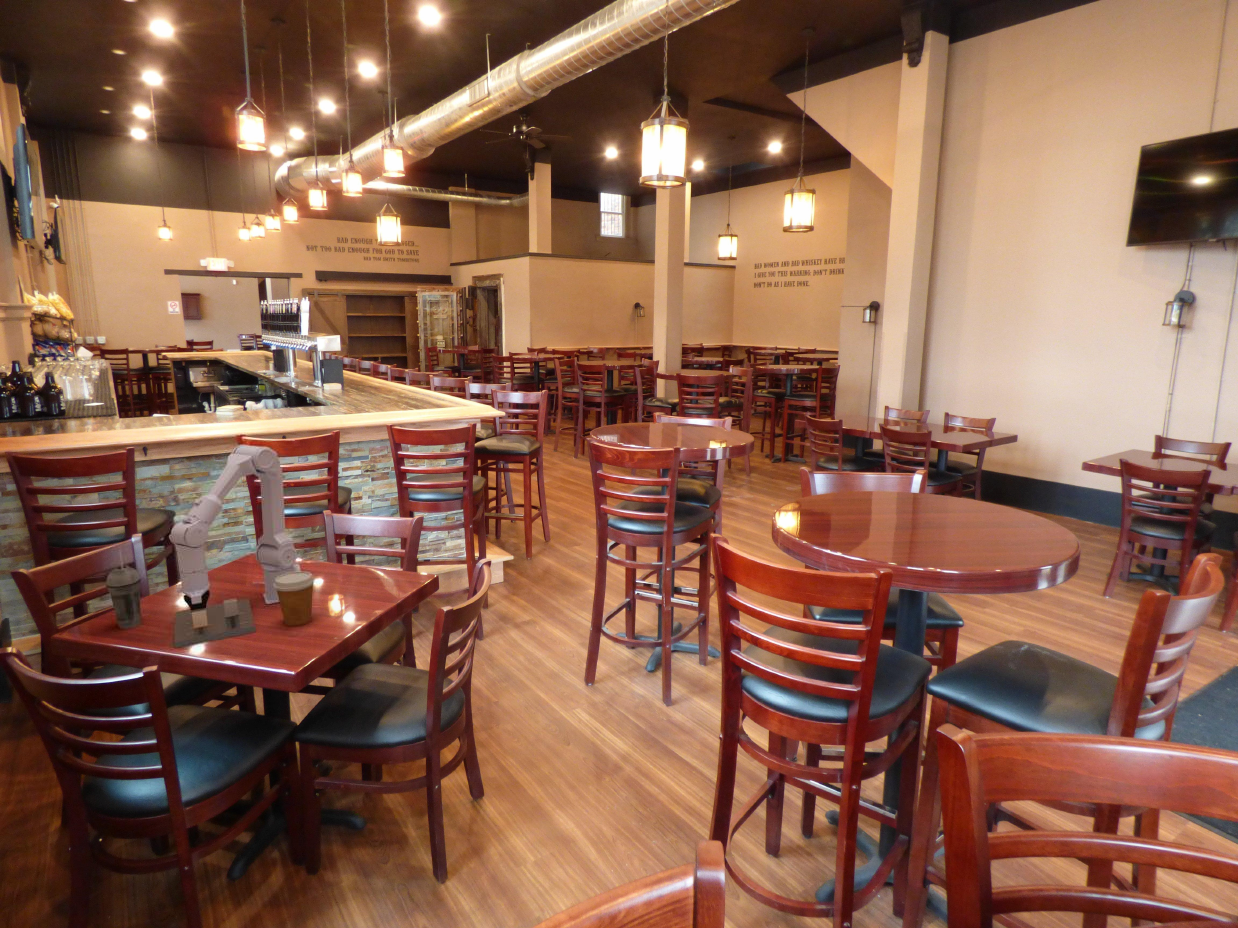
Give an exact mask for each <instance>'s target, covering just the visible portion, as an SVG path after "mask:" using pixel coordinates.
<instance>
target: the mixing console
mask: <svg viewBox="0 0 1238 928" xmlns="http://www.w3.org/2000/svg"><path fill="white" fill-rule="evenodd" d="M237 606H238V614H239V615H236V616H231V617H226V618H225V611H224V603H217V604H212V605H206V615H207V623H208V625H206V626H201V627H196V628H194V626H193V619H192V612H191V609H190V608H189V609H182V610H178V611H175V612H174V613H175V615H174V649H179V648H182V647H183V646H184V647H188V646H193V645H198V644H203V643H206V642H213V641H217V640H223V639H227V638H232V637H237V636H242V635H247V634H253V633H256V626H255V622H254V617H253V613H252V612H253V611H252V608H251V605H250V601H249V598H243V599H239V600H237ZM178 647H179V648H178Z"/></svg>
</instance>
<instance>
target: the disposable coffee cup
mask: <svg viewBox="0 0 1238 928" xmlns="http://www.w3.org/2000/svg"><path fill="white" fill-rule="evenodd" d="M315 579H316V578H314V576H313V574H312V573H311V572H309V571H303V570H302V571H298V572H290V573H286V574H283V575H280V576H278V577H277V578H276V579H275V583H274V587H275V589H276V590H277V594H278V598H279V602H278V603H279V605H280V609H281V613H282V617H283V621H284V624H285V625H286V626H288V627H298V626H302V625H305V624H307V623H309V622H311V621H312V611H313V589H314V588H313V587H314V582H315Z"/></svg>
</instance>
